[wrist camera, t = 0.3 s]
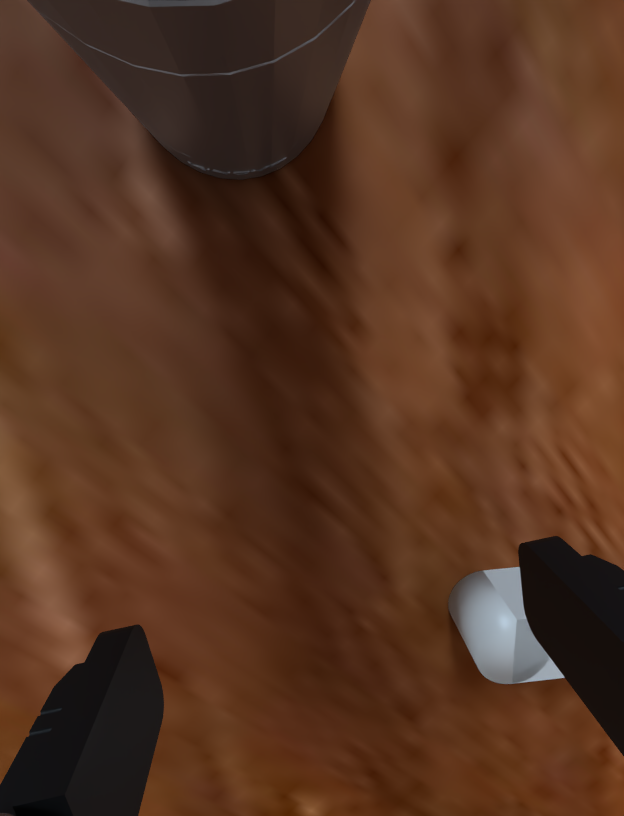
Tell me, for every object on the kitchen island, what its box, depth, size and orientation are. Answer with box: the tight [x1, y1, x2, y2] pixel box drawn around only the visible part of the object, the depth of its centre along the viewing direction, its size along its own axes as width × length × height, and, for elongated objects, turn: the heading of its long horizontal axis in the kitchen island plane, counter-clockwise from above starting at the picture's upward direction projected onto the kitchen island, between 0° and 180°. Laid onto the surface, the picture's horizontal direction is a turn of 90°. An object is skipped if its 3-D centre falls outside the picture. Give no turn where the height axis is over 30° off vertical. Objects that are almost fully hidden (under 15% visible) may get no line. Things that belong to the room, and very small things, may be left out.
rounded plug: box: [448, 567, 565, 684], centre depth 30 cm, size 4×13×4 cm, turn 93°
